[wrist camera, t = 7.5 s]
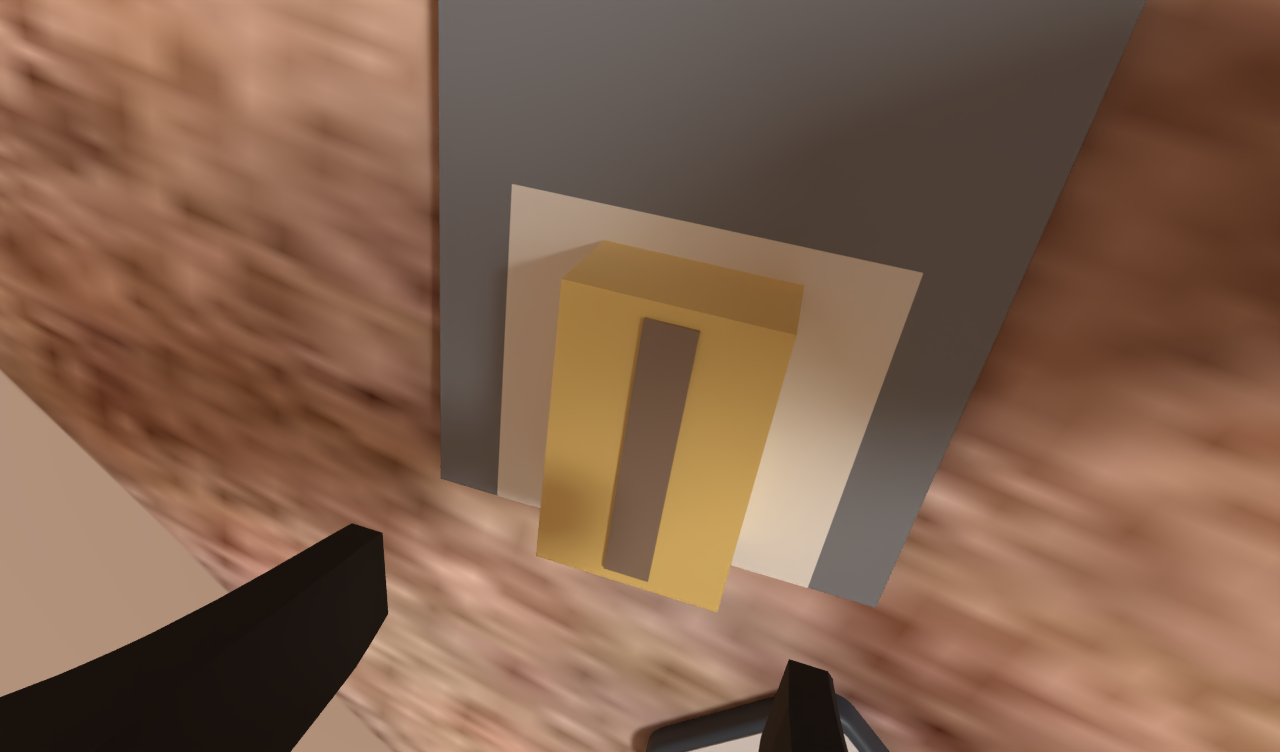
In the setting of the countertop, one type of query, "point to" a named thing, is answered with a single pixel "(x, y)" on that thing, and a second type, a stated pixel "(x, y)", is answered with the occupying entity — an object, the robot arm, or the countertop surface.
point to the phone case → (751, 731)
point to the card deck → (660, 416)
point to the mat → (762, 220)
